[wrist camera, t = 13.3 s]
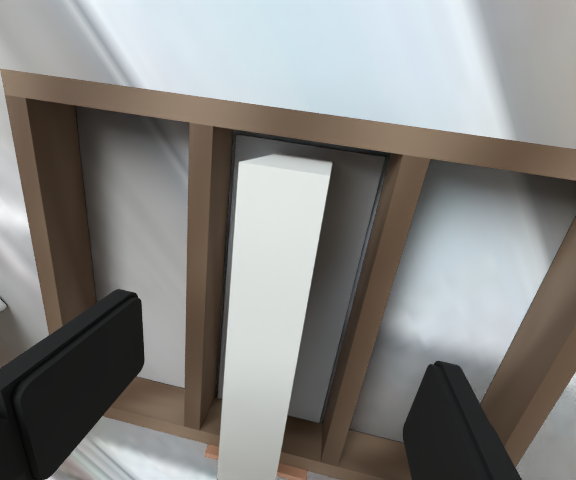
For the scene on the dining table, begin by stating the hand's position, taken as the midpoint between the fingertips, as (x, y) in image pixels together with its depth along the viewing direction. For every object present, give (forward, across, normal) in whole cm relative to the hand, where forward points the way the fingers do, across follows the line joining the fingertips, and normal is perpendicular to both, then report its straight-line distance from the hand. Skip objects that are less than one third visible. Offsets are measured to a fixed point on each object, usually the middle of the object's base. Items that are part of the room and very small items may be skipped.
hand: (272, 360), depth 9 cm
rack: (+4, 0, 0) cm, 4 cm away
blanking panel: (+4, 0, 0) cm, 4 cm away
